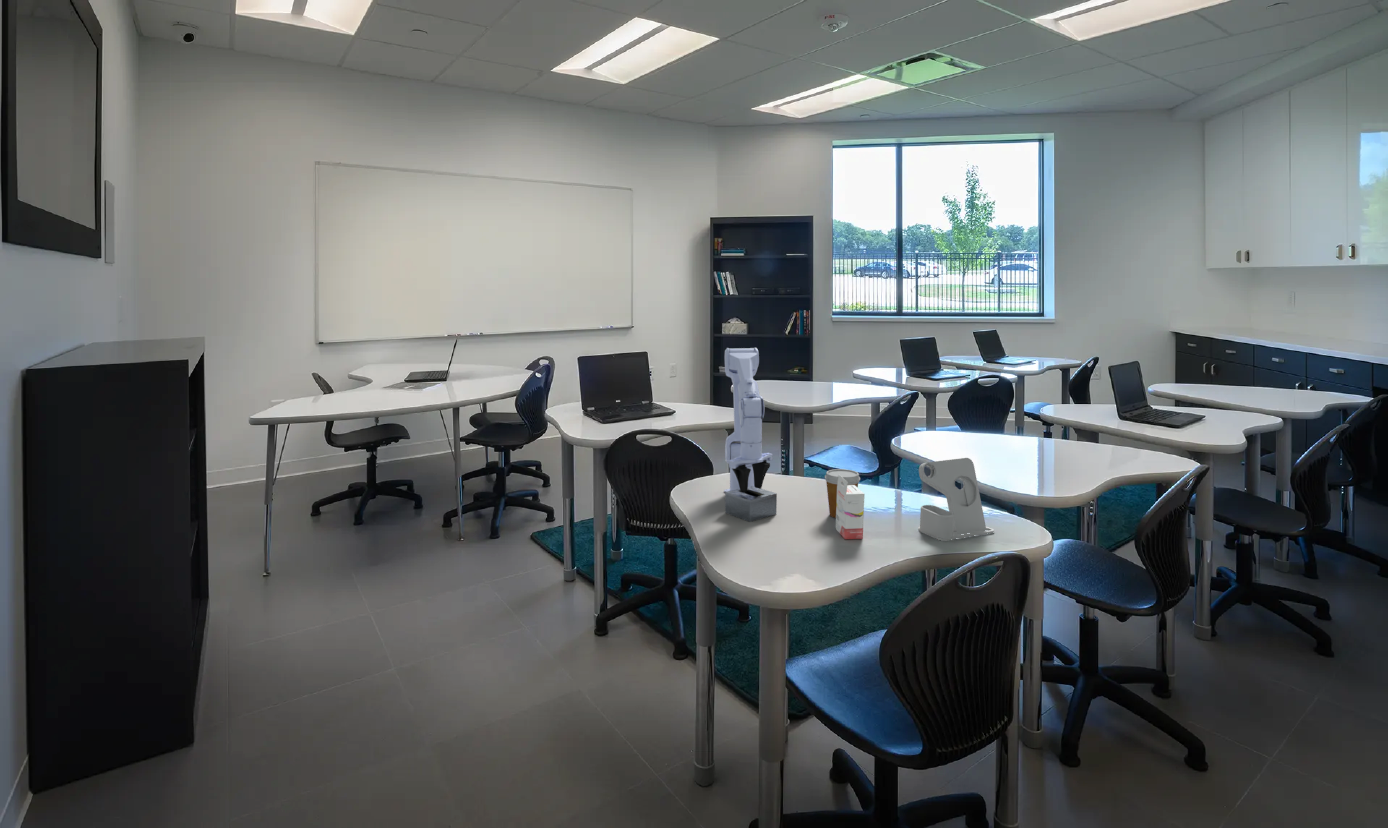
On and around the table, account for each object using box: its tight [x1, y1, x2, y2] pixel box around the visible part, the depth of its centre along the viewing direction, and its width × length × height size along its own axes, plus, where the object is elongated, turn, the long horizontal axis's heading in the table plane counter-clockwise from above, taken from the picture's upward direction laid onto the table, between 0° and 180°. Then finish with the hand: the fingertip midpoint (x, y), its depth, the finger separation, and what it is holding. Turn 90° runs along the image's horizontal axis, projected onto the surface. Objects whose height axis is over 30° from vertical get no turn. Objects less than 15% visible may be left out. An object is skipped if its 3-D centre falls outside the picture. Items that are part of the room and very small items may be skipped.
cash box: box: [724, 486, 778, 523], centre depth 197 cm, size 10×10×6 cm
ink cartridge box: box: [835, 475, 865, 540], centre depth 180 cm, size 9×5×15 cm, turn 5°
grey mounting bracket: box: [917, 457, 995, 542], centre depth 181 cm, size 17×10×18 cm, turn 111°
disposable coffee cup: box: [824, 468, 861, 519], centre depth 194 cm, size 10×10×12 cm
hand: (750, 489), depth 196 cm, fingers open, 5 cm apart
